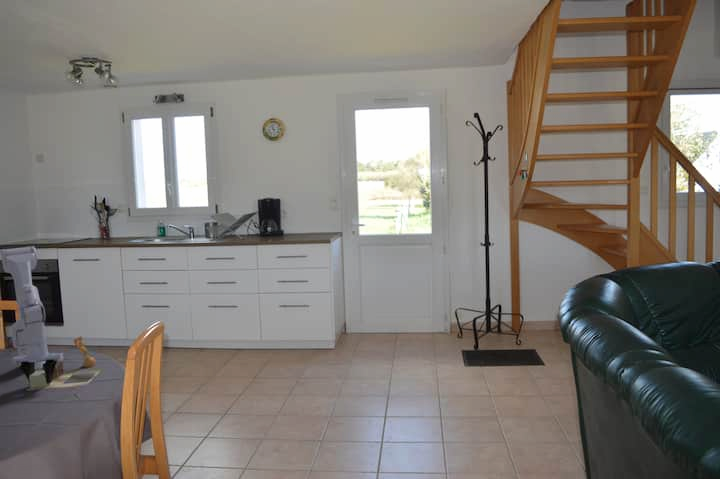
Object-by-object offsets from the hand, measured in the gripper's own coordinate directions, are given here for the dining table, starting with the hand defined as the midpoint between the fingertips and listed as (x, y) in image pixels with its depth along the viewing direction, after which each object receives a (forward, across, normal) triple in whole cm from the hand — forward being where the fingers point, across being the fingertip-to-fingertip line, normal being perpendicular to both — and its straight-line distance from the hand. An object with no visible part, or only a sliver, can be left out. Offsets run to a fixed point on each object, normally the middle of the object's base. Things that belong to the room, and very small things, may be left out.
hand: (41, 383), depth 173 cm
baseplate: (+2, +6, +4) cm, 7 cm away
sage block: (+1, 0, 0) cm, 1 cm away
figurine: (+2, +8, +16) cm, 18 cm away
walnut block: (+1, 0, +8) cm, 8 cm away
